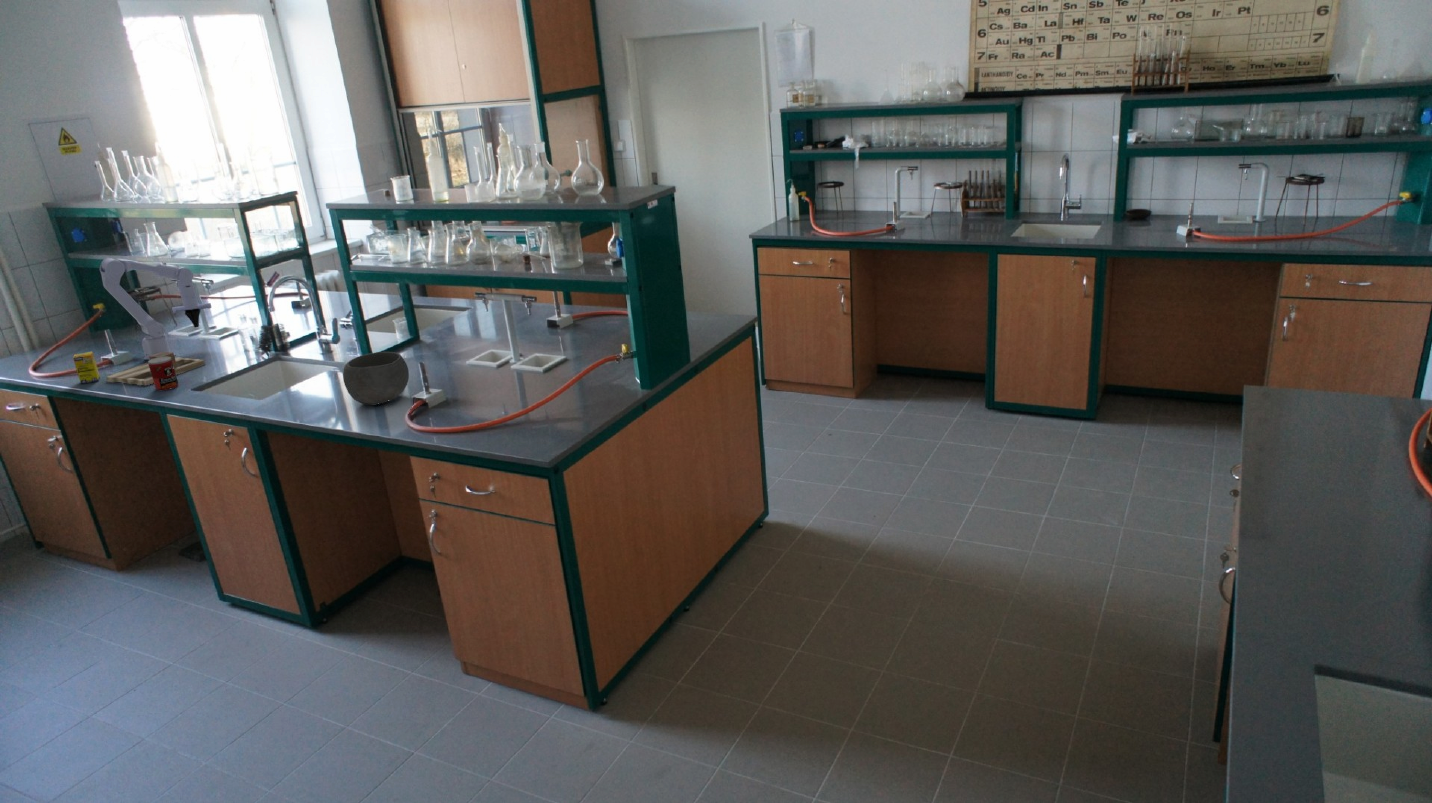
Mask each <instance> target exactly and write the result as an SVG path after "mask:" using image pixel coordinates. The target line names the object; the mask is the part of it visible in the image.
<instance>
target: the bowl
mask: <svg viewBox="0 0 1432 803" xmlns="http://www.w3.org/2000/svg"><path fill="white" fill-rule="evenodd" d="M409 376H410V372H409V367H408V364H407V362H406V361H405V359H404V357H403V356H402V355H401V354H400V353H398V352H394V351H377V352H370V353H366V354H361V355H359V356H357V357H354V358H352V359H351V360H349V361H347V363H345V365H344V368H343V374H342V379H343V384H344V386H345V389H346V390H347V393H348V394H349V396H350V397H351V398H352V399H353V400H354V401H356V402H358V403H359V404H362V405H366V406H373V405H372V404H378V403H382V404H384V403H383V402H386V401H388V400H391V401H393V400H394V398H395V399H396V398H397V397H399V396H400V395H401V394H402V393H403V392H404V391H405V389H406V388H407V386H408V383H409V378H410V377H409ZM392 399H393V400H392ZM386 403H387V402H386Z"/></svg>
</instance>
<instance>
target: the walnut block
mask: <svg viewBox="0 0 1432 803" xmlns="http://www.w3.org/2000/svg"><path fill="white" fill-rule="evenodd" d="M174 354H175V353H174V352H171V351H170V352H161V353H158V354H155V355H152V356H149V358H150V360H151V359H154V358H157V357H164V356H168V357H171V359H172V362H173V366H174V368H177V364H176V360H175V357H176V355H175V356H174Z"/></svg>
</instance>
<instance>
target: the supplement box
mask: <svg viewBox="0 0 1432 803" xmlns="http://www.w3.org/2000/svg"><path fill="white" fill-rule="evenodd" d="M72 359H73V363H74V365H75V369H76V372H77V376H78V379H79V381H80V382H79V383H80V384H81V385H84V384H91V383H97V382H99V381H100V379H101V376H100V373H99V368H98V365H97V362H96V359H95V355H94V352H93V351H86V352H82V353H76V354H74V355H73V357H72Z"/></svg>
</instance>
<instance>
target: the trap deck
mask: <svg viewBox="0 0 1432 803" xmlns="http://www.w3.org/2000/svg"><path fill="white" fill-rule="evenodd" d="M175 360H176V364H177V368H174V369H175V373H176V376H178V375H180V373H181V374H183V373H185V372H189V371H191V370H194V369H197V368H200V367H203V366H205V365H206V363H205V360H204V359H198V358H189V357H188V358H187V357H179V356H177V357H176V356H175ZM177 374H178V375H177ZM105 378H106V382H107V383H114V382H122V383H121V384H123V383H129V384H128V385H132V384H137V385H136V386H141V385H148V386H151V385H154V384H153V383H154V381H153V378H152V375H151V371H150V368H149V364H148V362H145V363H142V364H138V365H136V366H134V367H133V366H132V367H130V368H128V369H125V370H122V371H119V372H116V373H113V374H110V375H108V376H105ZM130 383H131V384H130ZM150 384H151V385H150Z"/></svg>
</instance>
